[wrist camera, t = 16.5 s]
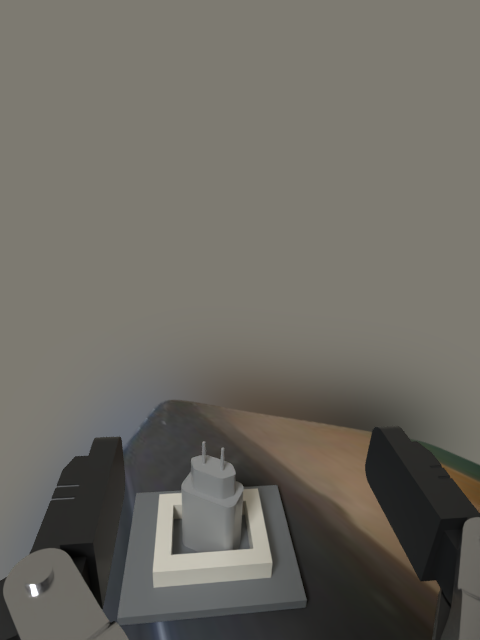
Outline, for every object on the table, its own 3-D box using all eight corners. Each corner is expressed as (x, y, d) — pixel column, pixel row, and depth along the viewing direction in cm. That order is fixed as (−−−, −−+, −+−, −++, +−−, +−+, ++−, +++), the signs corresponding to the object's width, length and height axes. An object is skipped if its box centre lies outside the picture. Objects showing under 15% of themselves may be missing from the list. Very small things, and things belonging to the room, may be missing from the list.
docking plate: (276, 491, 47) (278, 471, 46) (305, 607, 35) (309, 585, 34) (136, 499, 45) (135, 479, 44) (118, 625, 33) (115, 602, 32)
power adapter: (229, 566, 37) (234, 466, 33) (179, 543, 39) (177, 446, 35) (242, 538, 40) (248, 443, 35) (195, 519, 42) (194, 425, 37)
